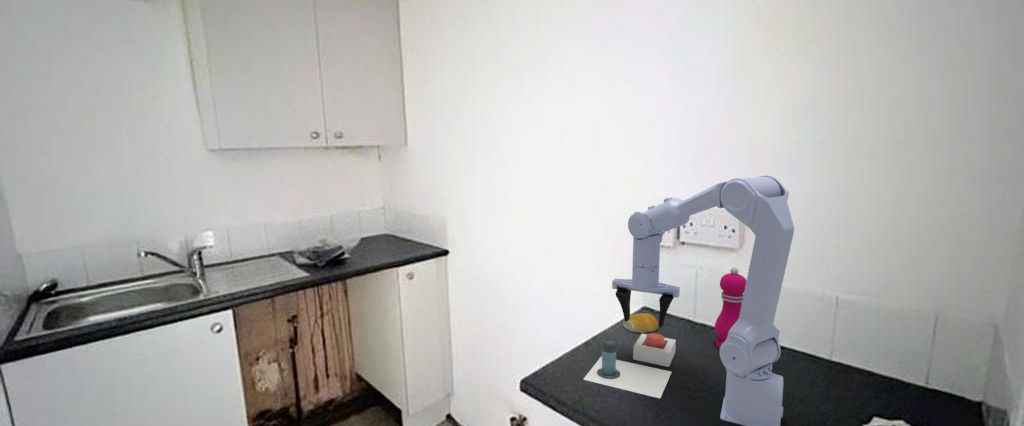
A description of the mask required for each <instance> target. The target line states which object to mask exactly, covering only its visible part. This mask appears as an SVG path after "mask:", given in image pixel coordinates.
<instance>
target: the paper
mask: <svg viewBox="0 0 1024 426" xmlns="http://www.w3.org/2000/svg"><path fill="white" fill-rule="evenodd" d="M672 372H673V371H670V370H666V369H661V368H656V367H651V366H647V365H643V364H638V363H635V362H634V363H633V362H628V361H623V360H620V359H616V374H615V375H614V376H605V375H603V374H602V355H601V356H600V357H599V358H598V360H597V361H596V362H595V363H594V365H593V366H592V367H591V369H590V370H589V371H588V373H587V374H585V376H584V377H583V380H584V381H588V382H591V383H596V384H599V385H603V386H607V387H612V388H616V389H620V390H624V391H628V392H632V393H634V394H635V393H636V394H640V395H644V396H648V397H652V398H657V399H661V398H662V395H663V393H664V391H665V389H666V386H667V384H668V382H669V379H670V376H671V375H672Z"/></svg>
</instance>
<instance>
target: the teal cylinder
mask: <svg viewBox="0 0 1024 426" xmlns="http://www.w3.org/2000/svg"><path fill="white" fill-rule="evenodd" d="M617 345H618V343H617V341H616V340H613V339H604V340H602V342H601V356H602V374H603V375H605V376H614V375H615V374H616V360H617V348H618V347H617Z"/></svg>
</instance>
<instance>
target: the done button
mask: <svg viewBox="0 0 1024 426" xmlns="http://www.w3.org/2000/svg"><path fill="white" fill-rule="evenodd" d="M646 334H647V335H646V346H650V347H655V348H660V349H664V338H665V336H663V335H662V334H660V333H656V332H655V333H653V332H650V333H646Z"/></svg>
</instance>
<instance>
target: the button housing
mask: <svg viewBox="0 0 1024 426" xmlns="http://www.w3.org/2000/svg"><path fill="white" fill-rule="evenodd" d="M647 334H648V333H640V336H639V337H638V339H637V340H636V342H635V343H634V344H633V349H632V350H633V351H632V352H633V353H632V354H633V355H632V359H633V360H635V361H640V362H643V363H648V364H653V365H658V366H662V367H667V368H670V365H671V363H672V361H673V359H674V357H675V355H676V346H677V345H676V343H677V340H676V339H673V338H669V337H664V349H660V348H655V347H650V346H646V335H647Z"/></svg>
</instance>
